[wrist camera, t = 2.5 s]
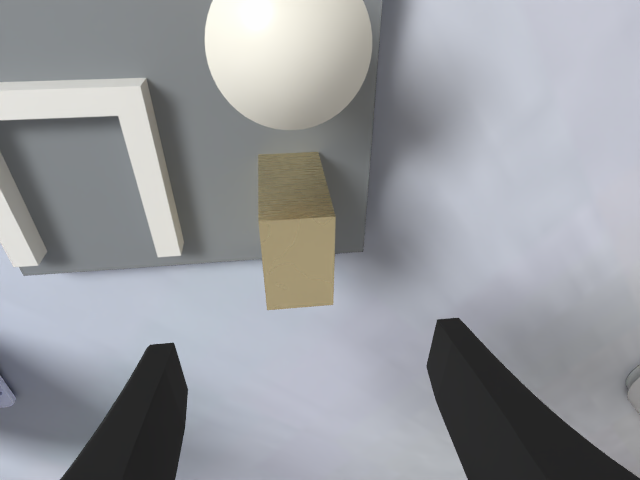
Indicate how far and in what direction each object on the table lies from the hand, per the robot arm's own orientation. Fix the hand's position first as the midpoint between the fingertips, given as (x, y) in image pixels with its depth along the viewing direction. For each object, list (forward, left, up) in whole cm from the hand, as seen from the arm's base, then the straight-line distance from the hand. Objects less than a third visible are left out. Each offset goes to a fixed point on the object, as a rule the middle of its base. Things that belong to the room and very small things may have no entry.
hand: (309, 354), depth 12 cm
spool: (+7, 0, -9) cm, 11 cm away
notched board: (+3, +5, -10) cm, 12 cm away
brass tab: (0, 0, -9) cm, 9 cm away
